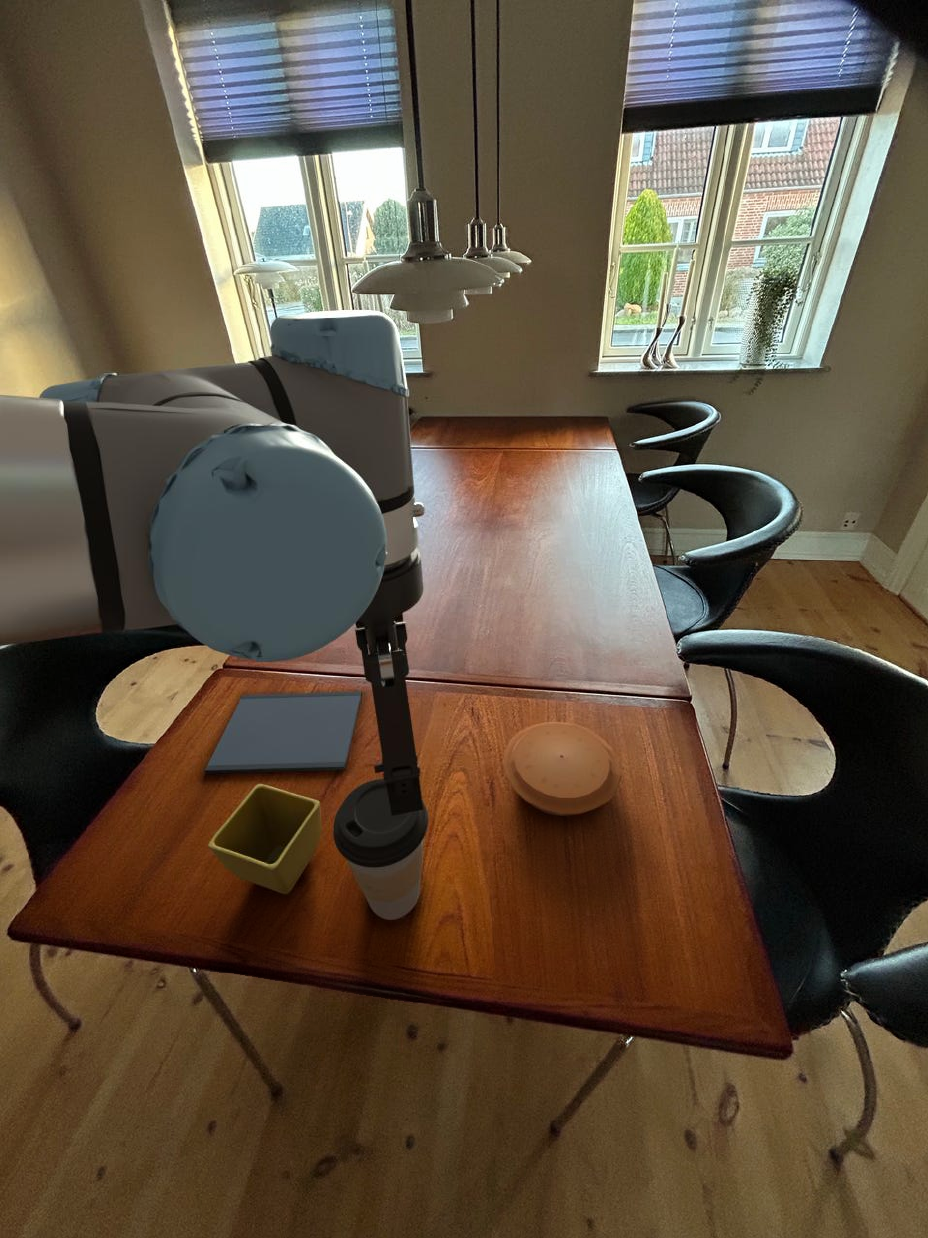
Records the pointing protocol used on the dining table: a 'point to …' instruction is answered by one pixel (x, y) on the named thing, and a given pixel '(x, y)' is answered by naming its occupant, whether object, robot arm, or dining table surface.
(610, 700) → the dining table surface
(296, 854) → the flower pot
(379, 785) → the coffee cup
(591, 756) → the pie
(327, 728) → the cup mat
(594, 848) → the dining table surface
